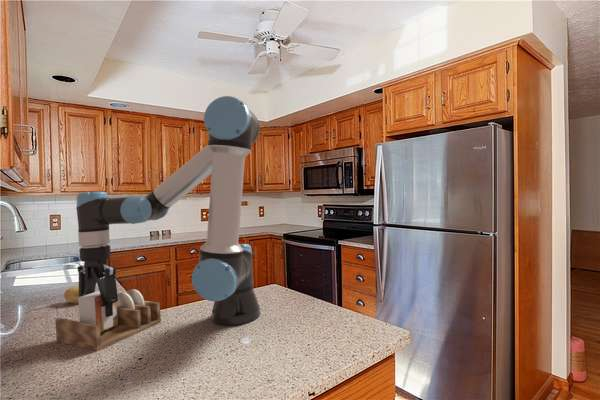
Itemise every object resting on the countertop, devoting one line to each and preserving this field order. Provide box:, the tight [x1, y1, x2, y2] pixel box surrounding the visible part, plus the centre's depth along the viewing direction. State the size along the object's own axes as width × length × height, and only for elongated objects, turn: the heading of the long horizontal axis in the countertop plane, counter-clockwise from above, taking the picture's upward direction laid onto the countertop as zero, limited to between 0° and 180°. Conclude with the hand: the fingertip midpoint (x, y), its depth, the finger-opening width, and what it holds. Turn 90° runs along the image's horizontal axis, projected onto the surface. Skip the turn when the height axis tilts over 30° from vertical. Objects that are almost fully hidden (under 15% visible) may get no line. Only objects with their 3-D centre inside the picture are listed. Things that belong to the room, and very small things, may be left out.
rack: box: [55, 288, 162, 352], centre depth 96 cm, size 18×20×10 cm
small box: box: [77, 290, 118, 333], centre depth 93 cm, size 8×6×10 cm
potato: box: [63, 286, 84, 305], centre depth 127 cm, size 7×11×6 cm, turn 64°
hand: (99, 325), depth 93 cm, fingers open, 7 cm apart
